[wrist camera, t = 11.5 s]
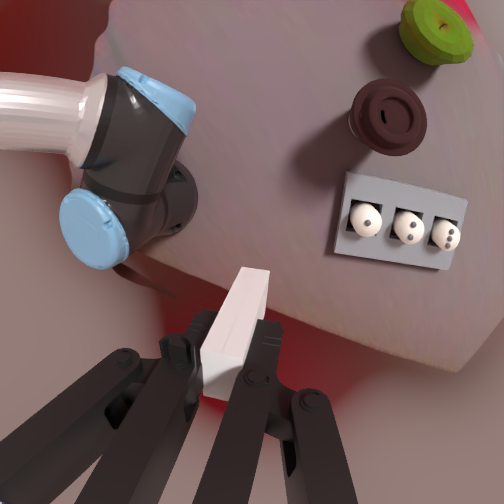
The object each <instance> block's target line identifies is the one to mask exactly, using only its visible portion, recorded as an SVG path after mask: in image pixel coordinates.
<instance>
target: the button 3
mask: <svg viewBox="0 0 504 504" xmlns="http://www.w3.org/2000/svg"><path fill="white" fill-rule="evenodd" d="M430 238H431V239H432V240H433V241H434V242H435V243H436V244H437V245H438V246H439V247H440V248H441V249H442V250H443V251H451V250H453V249H455V248H456V246H457V245H458V243H459V241H460V232H459V230H458V228H457V227H456V226H454V225H453V224H451V223H450V222H449V221H447V220H446V219H444V218H437V219H435V220H434V221H433V225H432V229H431V232H430Z"/></svg>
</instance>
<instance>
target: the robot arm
mask: <svg viewBox="0 0 504 504" xmlns="http://www.w3.org/2000/svg"><path fill="white" fill-rule="evenodd" d="M195 114H196V105H195V103H194V101H193V100H192V99H190V98H189V97H187V96H186V95H184V94H182V93H180V92H178V91H177V90H175V89H173V88H171V87H169V86H167V85H165V84H163V83H161V82H159V81H157V80H155V79H152V78H150V77H148V76H146V75H144V74H141V73H139V72H137V71H135V70H133V69H130V68H128V67H121V68H120V70H119V71H117V73H116V76H112V75H108V74H103V73H102V74H100V75H98V76H96V77H94V78H93V79H91V80H89V81H88V82H79V81H74V80H68V79H61V78H55V77H48V76H40V75H32V74H21V73H8V72H0V149H2V150H22V151H37V152H51V153H61V154H65V155H66V156H67V157H68V158H69V160H70V161H71V163H72V164H73V166H74V167H75V168H80V169H84V172H83V176H82V180H81V185H80V187H79V188H77V189H74V190H72V191H71V192H70V193H69V194H68V195H67V196H65V197H64V199H63V201H62V203H61V206H60V211H59V221H60V227H61V231H62V234H63V236H64V239H65V240H66V242H67V244H68V246H69V248H70V249H71V251H72V252H73V253H74V255H75V256H76V257H77V258H78V259H79V260H80V261H82V262H83V263H84V264H86V265H88V266H90V267H92V268H95V269H99V270H103V269H109V268H112V267H113V266H115V265H117V264H119V263H121V262H123V261H124V260H126V258H127V257H128V256H129V255H131V254H132V253H133V252H135V251H136V250H137V249H139V248H140V247H141V246H143V245H144V244H145V243H147V242H148V241H149V240H151V239H152V238H154V237H155V236H166V235H171V234H174V233H176V232H178V231H179V230H181V229H182V228H183V227H185V226H186V225H187V224H188V223H189V222H190V221H191V219H192V218H193V216H194V214H195V211H196V208H197V203H198V192H197V187H196V183H195V181H194V178H193V177H192V175H191V173H190V172H189V170H188V169H187V168H186V167H185V166H184V165H183V164H181V163H180V162H178V161H176V160H175V159H176V157H177V155H178V153H179V150H180V148H181V146H182V144H183V141H184V139H185V137H187V136H188V134H189V133H188V130H189V128H190V126H191V123H192V121H193V119H194V116H195ZM269 273H270V271H266V270H260V269H253V268H247V267H242V268H241V270H240V272H239V274H238V276H237V277H236V279H235V281H234V283H233V285H232V287H231V289H230V291H229V294H228V295H227V297H226V299H225V301H224V303H223V305H222V307H221V309H220V311H219V312H214V311H209V310H202V311H201V312H199V313H198V314H196V315H195V317H194V318H193V320H192V322H191V324H190V325H189V327H188V329H187V330H186V332H185V333H184V335H183V334H170V335H167V336H165V337H163V338H162V339H161V340H160V341H159V344H160V350H161V355H162V358H159V359H143V358H140V356H139V354H138V353H137V352H136V351H135V350H132V349H130V348H122V349H117V350H116V351H114V352H112V353H111V354H110V355H108V356H107V357H106V358H104V359H103V360H102V361H101V362H99V363H98V364H97V365H96V366H94V367H93V368H92V369H91V370H89V371H88V372H87V373H85V374H84V375H83V376H82V377H80V378H79V379H78V380H77V381H75V382H74V383H73V384H72V385H70V386H69V387H68V388H67V389H65V390H64V391H63V392H62V393H60V394H59V395H58V396H57V397H55V398H54V399H53V400H52V401H50V402H49V403H48V404H47V405H45V406H44V407H43V408H42V409H40V410H39V411H38V412H37V413H35V414H34V415H33V416H32V417H30V418H29V419H28V420H27V421H25V422H24V423H23V424H22V425H20V426H19V427H18V428H17V429H15V430H14V431H13V432H12V433H11V434H10V435H8V436H7V437H6V438H4V439H3V440H2V441H1V442H0V504H50V503H51V502H52V501H53V500H54V499H55V498H56V497H57V496H59V495H60V494H61V493H62V492H63V491H64V490H65V489H66V488H67V487H69V486H70V485H71V484H72V483H73V482H74V481H75V480H76V479H77V478H78V477H79V476H80V475H81V474H82V473H83V472H84V471H86V470H87V469H88V468H89V467H90V466H91V465H92V463H94V462H95V461H96V460H97V459H98V458H99V457H100V456H101V455H102V454H103V455H102V456H101V459H100V460H99V462H98V463H97V465H96V467H95V469H94V470H93V472H92V474H91V475H90V477H89V479H88V480H87V482H86V484H85V486H84V488H83V489H82V491H81V493H80V495H79V496H78V498H77V500H76V502H75V503H74V504H158V502H159V500H160V497H161V495H162V493H163V490H164V488H165V486H166V483H167V481H168V479H169V476H170V474H171V472H172V469H173V467H174V465H175V462H176V460H177V458H178V455H179V453H180V450H181V448H182V446H183V443H184V441H185V438H186V436H187V434H188V431H189V429H190V427H191V424H192V422H193V419H194V417H195V415H196V412H197V410H198V407H199V403H200V399H199V396H200V394H201V392H202V389H203V395H205V396H208V397H213V398H217V399H221V400H225V401H228V404H227V407H226V410H225V413H224V416H223V419H222V421H221V424H220V427H219V430H218V433H217V436H216V439H215V442H214V445H213V447H212V450H211V453H210V456H209V459H208V462H207V465H206V467H205V470H204V473H203V476H202V478H201V481H200V484H199V487H198V489H197V492H196V495H195V498H194V500H193V503H192V504H248V500H249V497H250V493H251V489H252V485H253V481H254V476H255V472H256V468H257V464H258V459H259V455H260V451H261V446H262V442H263V437H264V432H265V433H267V434H269V435H271V436H273V437H275V438H278V439H279V440H280V448H281V455H282V463H283V471H284V478H285V485H286V493H287V501H288V504H358V502H357V497H356V493H355V490H354V486H353V482H352V478H351V474H350V471H349V468H348V463H347V460H346V456H345V452H344V449H343V446H342V442H341V438H340V435H339V431H338V428H337V425H336V421H335V417H334V414H333V411H332V408H331V404H330V401H329V399H328V398H327V396H326V395H325V394H324V393H323V392H321V391H319V390H316V389H310V388H306V389H302V390H299V391H298V392H296V391H294V390H291V389H289V388H287V387H285V386H284V385H283V384H281V383H280V381H279V380H278V378H277V375H276V370H277V364H278V357H279V352H280V346H281V340H282V334H283V329H282V327H281V324H280V323H279V322H274V321H268V320H263V317H264V314H265V306H266V298H267V290H268V281H269Z"/></svg>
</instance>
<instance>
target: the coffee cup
mask: <svg viewBox="0 0 504 504" xmlns="http://www.w3.org/2000/svg"><path fill="white" fill-rule="evenodd" d="M349 126H350V129H351V131H352V133H353V134H354V135H355V136H356V137H357V138H358V139H359V140H360V141H362V142H363V143H365V144H366V145H367V146H368V147H370V148H371V149H373V150H374V151H376V152H378V153H381V154H384V155H389V156H402V155H406V154H408V153H410V152H412V151H414V150H415V149H416V148H417V147H418V146H419V145H420V144H421V142H422V141H423V139H424V136H425V133H426V129H427V118H426V113H425V109H424V107H423V105H422V103H421V101H420V99H419V98H418V96H417V95H416V94H415V93H414V92H413V91H412V90H411V89H410V88H409V87H407V86H406V85H404V84H402V83H400V82H398V81H395V80H391V79H378V80H374V81H371V82H369V83H368V84H366V85H365V86H364V87H363V88H361V89H360V91H359V92H358V93H357V95H356V96H355V98H354V101H353V104H352V108H351V110H350V114H349Z"/></svg>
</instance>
